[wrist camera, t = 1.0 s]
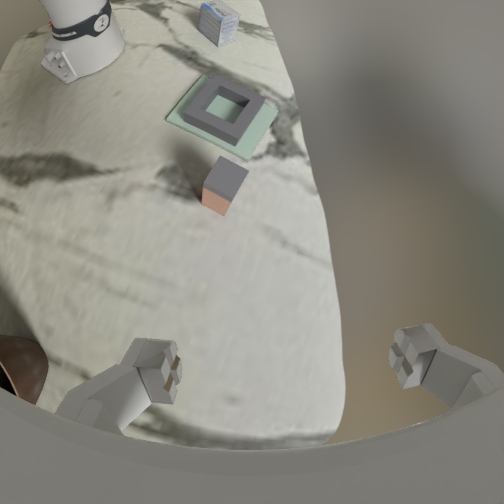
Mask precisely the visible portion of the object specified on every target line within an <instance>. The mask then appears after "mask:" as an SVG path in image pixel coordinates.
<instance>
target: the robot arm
mask: <svg viewBox="0 0 504 504" xmlns="http://www.w3.org/2000/svg"><path fill="white" fill-rule="evenodd" d="M39 1H40V2H41V3H42V4H43V6H44V8H45V10H46V11H47V13H48V15H49V17H50V19H51V22H52V23H51V22H50V23H51V24H50V23H49V24H50V26H49V27H51V26H52V35H51V36H50V37H49V38H48V40H47V41H46V43H45V45H44V50H45V52H46V55H45V56H44V58H43V60H42V62H41V65H42V67H43V68H45V69H46V70H47V71H49V72H50V73H52V74H53V75H54V76H56V77H57V78H58V79H60V80H61V81H62V82H64V83H65V84H69V83H71V82H73V81H74V80H76V79H78V78H80V77H83V76H86V75H90V74H93V73H95V72H97V71H99V70H101V69H103V68H105V67H106V66H108V65H109V64H111V63H112V62H113V61H114V60H115V59H116V58H117V57H118V56H119V55H120V54H121V52H122V51H123V49H124V45H125V41H124V39H123V36H122V35H123V31H124V30H123V27H122V26H119V24H118V21H117V19H116V16H115V13H114V11H113V10H112V9H111V3H110V1H109V0H39ZM49 24H48V25H49ZM394 340H395V343H394V344H393V346H391V348H390V352H389V362H390V366H391V368H392V370H394V371H396V372H397V373H398V375H397V379H398V381H399V383H400V385H401V387H402V389H406V388H410V387H414V386H418V385H421V386H422V387H423V388H424V389H426V390H427V391H428V392H430V393H431V394H432V395H434V396H435V397H437V398H438V399H439V400H441V401H442V402H443V403H445V404H446V405H448V406H449V407H450V408H452V409H451V411H450V412H447V413H445V414H443V415H440V416H437V417H435V418H432V419H429V420H427V421H423V422H421V423H418V424H415V425H412V426H408V427H405V428H402V429H398V430H395V431H391V432H388V433H384V434H380V435H376V436H372V437H367V438H363V439H358V440H353V441H348V442H342V443H336V444H330V445H322V446H314V447H305V448H294V449H280V450H220V449H205V448H194V447H185V446H177V445H170V444H163V443H157V442H152V441H146V440H141V439H136V438H132V437H127V436H124V435H123V433H122V432H121V430H122V429H123V428H125V427H126V426H127V425H128V424H129V423H130V422H131V421H133V420H134V419H135V418H136V417H137V416H138V415H139V414H140V413H142V412H143V411H144V410H145V409H146V408H147V407H148V406H149V405H150V404H152V403H151V402H153V403H163V404H174V401H175V398H176V394H177V388H176V385H177V384H178V383H180V381H181V377H182V363H181V359H180V358H179V357H178V356H177V355H176V353H177V351H178V348H177V344H176V342H175V341H173V340H160V339H148V338H135V339H134V340H133V342H132V344H131V346H130V347H129V349H128V351H127V352H126V354H125V356H124V358H123V359H122V361H121V363H120V365H117V364H116V365H114V366H112V367H111V368H109V369H107V370H105V371H104V372H102V373H100V374H98V375H97V376H95V377H93V378H91V379H89V380H88V381H86V382H84V383H82V384H81V385H79V386H77V387H75V388H73V389H72V390H70V391H68V393H67V394H66V396H65V398H64V399H63V401H62V402H61V404H60V406H59V407H58V409H57V411H56V412H55V414H54V413H52V412H49V411H47V410H45V409H42V408H40V407H38V406H36V405H33V404H31V403H29V402H27V401H25V400H23V399H21V398H19V397H17V396H15V395H13V394H11V393H9V392H8V391H6V390H4V389H2V388H1V387H0V504H504V374H503V373H502V372H501V371H500V369H499V368H498V367H497V366H496V364H494V363H492V362H489V361H487V360H485V359H483V358H480V357H478V356H476V355H474V354H471V353H469V352H467V351H465V350H462V349H460V348H458V347H456V346H453V345H451V346H450V345H449V344H448V343H447V342H446V341H445V339H444V338H443V337H442V336H441V335H440V333H439V332H438V331H437V330H436V329H435V328H434V326H433V325H432V324H430V323H427V324H422V325H418V326H414V327H408V328H402V329H398V330H397V331H396V332H395V335H394Z"/></svg>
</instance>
